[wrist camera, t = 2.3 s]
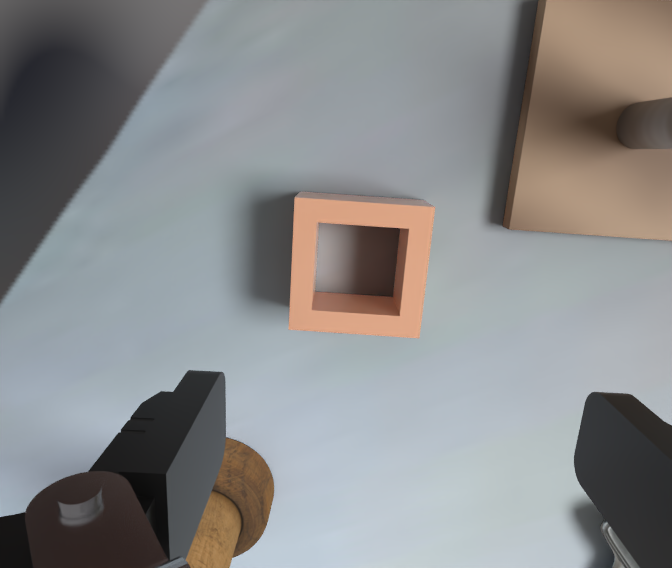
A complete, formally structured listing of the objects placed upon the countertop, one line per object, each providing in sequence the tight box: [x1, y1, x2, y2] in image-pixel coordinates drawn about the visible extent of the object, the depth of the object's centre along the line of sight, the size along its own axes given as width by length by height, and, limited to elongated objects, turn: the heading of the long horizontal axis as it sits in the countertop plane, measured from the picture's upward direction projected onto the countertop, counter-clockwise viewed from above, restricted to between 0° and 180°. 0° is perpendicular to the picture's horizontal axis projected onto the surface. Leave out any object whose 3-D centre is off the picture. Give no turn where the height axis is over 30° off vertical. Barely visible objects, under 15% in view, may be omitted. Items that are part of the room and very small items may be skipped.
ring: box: [289, 191, 435, 338], centre depth 23 cm, size 6×6×3 cm
